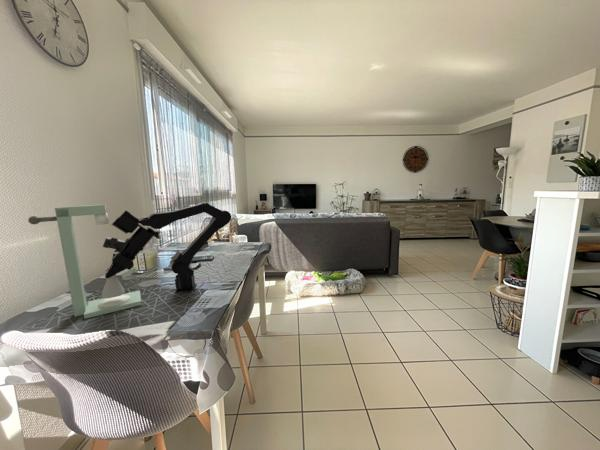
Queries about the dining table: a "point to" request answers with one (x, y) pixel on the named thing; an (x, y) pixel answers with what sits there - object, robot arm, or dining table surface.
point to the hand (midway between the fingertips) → (106, 276)
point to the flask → (112, 287)
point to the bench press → (73, 262)
